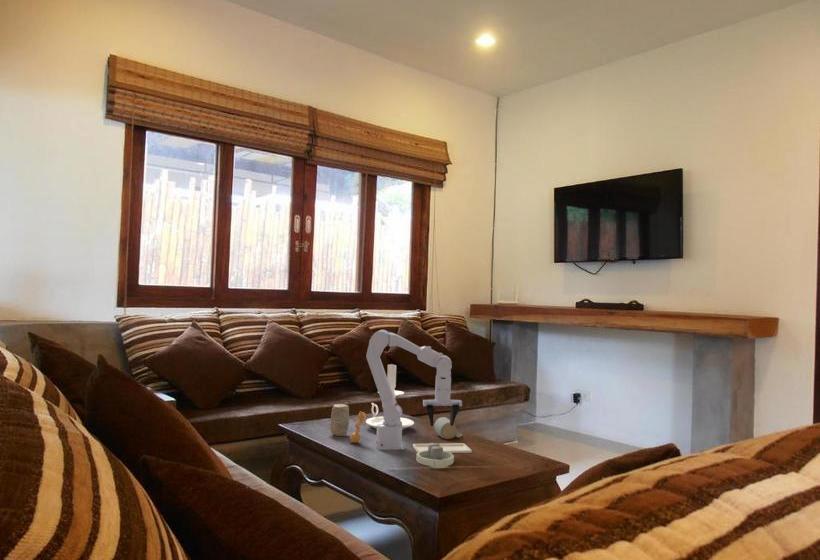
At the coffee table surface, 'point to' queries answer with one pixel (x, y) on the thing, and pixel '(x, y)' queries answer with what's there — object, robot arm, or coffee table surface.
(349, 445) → the coffee table surface
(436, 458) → the pebble
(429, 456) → the pebble
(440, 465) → the celadon bowl
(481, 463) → the coffee table surface
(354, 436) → the figurine
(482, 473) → the coffee table surface
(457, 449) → the parts tray
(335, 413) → the carving
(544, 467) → the coffee table surface
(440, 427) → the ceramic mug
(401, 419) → the candlestick
